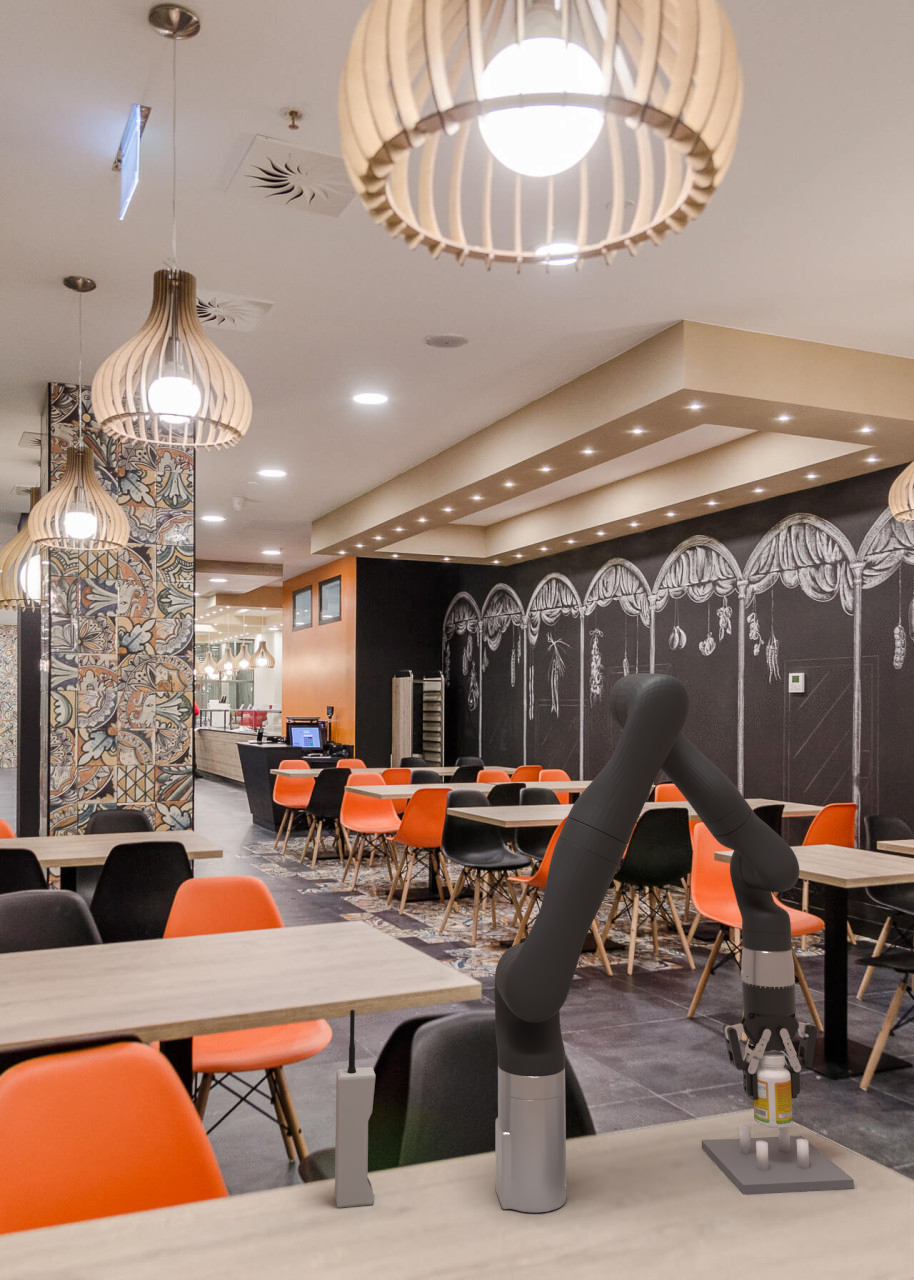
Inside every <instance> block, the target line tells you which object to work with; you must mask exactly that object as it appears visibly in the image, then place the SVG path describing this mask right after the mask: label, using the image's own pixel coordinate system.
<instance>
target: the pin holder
mask: <svg viewBox="0 0 914 1280" xmlns="http://www.w3.org/2000/svg"><path fill="white" fill-rule="evenodd" d="M790 1127H791V1125H790V1126H789V1127H785V1128H777V1129H778V1136H766V1137H765V1136H764V1137H763V1136H762V1137H752V1136H751V1134H752V1133H751V1132H752V1131H751V1126H749V1125H747V1124H739V1128H738V1129H739V1130H738V1131H739V1138H721V1139H701V1149H702V1150H703V1152H704V1153H705V1152H706V1153H705V1154H706V1155H707V1156H708V1157H709V1159H711V1160H712V1161H713V1162H714V1164H715V1165H716V1166H717V1167H718V1168H719V1170H721V1171H722V1173H723V1174H724V1175H725V1176H726V1177H727V1178H728V1179H729V1180H730V1182H732V1184H733V1185H735V1187H736V1188H737V1190H739V1191H740V1192H741V1194H742V1195H753V1194H754V1195H756V1194H757V1195H759V1194H776V1193H795V1192H796V1193H797V1192H814V1191H815V1192H816V1191H833V1190H834V1191H838V1190H852V1189H853V1190H854V1189H855V1183H854V1182H855V1181H854V1180H855V1179H854V1178H853V1177H852V1176H850V1175H849V1174H848V1173H847V1172H845V1170H843V1169H842V1168H840V1167H839V1166H838V1165H837V1164H836V1163H834V1162H833V1161H832V1160H831V1159H830V1158H829V1157H827V1156H826V1155H825V1154H824V1153H823V1152H821V1151H820V1150H819V1149H818V1148H817V1147H816V1146H815V1145H813V1144H812V1143H811V1142H810V1141H809V1140H807V1139H806V1138H805V1137H803V1136H802V1135H791V1134H790V1133H791V1129H790Z"/></svg>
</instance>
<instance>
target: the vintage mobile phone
mask: <svg viewBox="0 0 914 1280" xmlns="http://www.w3.org/2000/svg"><path fill="white" fill-rule="evenodd" d="M355 1013H356V1012H355V1010H354V1009H351V1010H350V1011H349V1018H350V1019H349V1021H350V1022H349V1046H348V1068H338V1069H337V1070H336V1075H335V1076H336V1077H335V1078H336V1079H335V1080H336V1081H335V1083H336V1085H335V1086H336V1089H335V1090H336V1091H335V1142H334V1143H335V1145H334V1146H335V1151H334V1152H335V1155H334V1156H335V1157H334V1159H335V1160H334V1161H335V1162H334V1197H335V1203H336V1206H337V1208H339V1209H340V1208H350V1207H351V1208H352V1207H362V1206H372V1205H374V1204H375V1193H374V1189H373V1186H372V1183H371V1181H370V1179H369V1177H368V1164H369V1162H368V1158H369V1157H368V1155H369V1153H368V1152H369V1120H370V1118H371V1116H372V1113H373V1106H374V1095H375V1085H376V1077H377V1076H376V1075H377V1074H376V1073H375V1071H374V1070H375V1069H374V1067H373V1066H369V1067H368V1066H367V1067H365V1066H363V1067H356V1046H355V1021H356V1020H355V1019H356V1017H355Z"/></svg>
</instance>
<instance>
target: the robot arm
mask: <svg viewBox="0 0 914 1280" xmlns="http://www.w3.org/2000/svg"><path fill="white" fill-rule="evenodd" d="M689 697H690V696H689V693H688V690H687V689H686V686H685V685H684V683H683V682H682V680H680V679H679V678H677V677H676V676H672V675H670V674H663V673H650V672H649V673H648V672H641V673H640V672H639V673H638V672H636V673H631V674H627V675H624V676H622V677H621V678H619V679H618V680H616V682H615V683H614V684H613V685H612V688H611V689H610V693H609V695H608V709H609V712H610V715H611V716H612V719H613V721H614V722H615V724H616V725H617V726H618V727H619V728H620V729H621V730H622V733H621V735H620V738H619V740H618V743H617V745H616V747H615V750H614V751H613V753H612V755H611V757H610V759H609V760H608V762H607V763H606V764H605V766H604V767H603V768H602V770H601V771H600V772H599V773H598V774H597V775H596V776H595V777H594V778H593V780H592V781H591V782H590V783H589V784H588V786H586V788H585V789H584V790H583V791H582V793H581V794H580V795H579V796H578V797H577V799H576V800H575V802H574V803H573V805H572V807H571V809H570V810H569V813H568V815H567V818H566V819H565V821H564V824H563V826H562V828H561V831H560V833H559V835H558V837H557V840H556V843H555V845H554V848H553V851H552V855H551V859H550V863H549V867H548V871H547V876H546V882H545V887H544V892H543V897H542V902H541V905H540V908H539V911H538V914H537V916H536V918H535V920H534V923H533V925H532V927H531V929H530V931H529V933H528V935H527V936H526V939H525V941H524V942H520V943H516V944H514V945H512V946H510V947H509V948H507V950H505V951H504V952H503V953H502V955H501V956H500V958H499V960H498V962H497V964H496V968H495V973H494V1018H495V1019H494V1020H495V1021H494V1022H495V1023H494V1024H495V1025H494V1026H495V1027H494V1028H495V1029H494V1030H495V1032H494V1033H495V1041H496V1042H495V1043H496V1049H497V1089H498V1090H497V1109H498V1110H497V1114H498V1115H497V1117H496V1118H495V1125H494V1126H495V1128H494V1130H495V1132H494V1133H495V1134H494V1135H495V1139H494V1140H495V1143H494V1144H495V1147H494V1149H495V1192H496V1195H497V1198H498V1201H499V1203H500V1205H501V1208H502V1209H503V1210H507V1209H509V1210H510V1209H511V1210H514V1211H518V1212H523V1213H546V1212H550V1211H555V1210H557V1209H559V1208H561V1207H562V1206H564V1205H565V1203H566V1202H567V1183H568V1181H567V1139H566V1137H567V1136H566V1135H567V1132H566V1131H567V1130H566V1128H567V1126H566V1052H565V1051H566V1049H565V1044H564V1040H563V1036H562V1030H561V1027H562V1026H561V1015H560V1014H561V1013H560V1010H561V1009H562V1007H563V1006H564V1005H565V1003H566V1001H567V999H568V996H569V992H570V989H571V986H572V983H573V980H574V976H575V974H576V973H575V972H576V970H577V967H578V963H579V960H580V956H581V954H582V951H583V947H584V944H585V941H586V939H587V936H588V934H589V930H590V928H591V927H592V924H593V922H594V920H595V919H596V917H597V915H598V912H599V910H600V908H601V906H602V904H603V901H604V899H605V897H606V894H607V892H608V890H609V889H610V885H611V883H612V882H613V880H614V877H615V875H616V873H617V870H618V868H619V867H620V864H621V862H622V859H623V857H624V856H625V853H626V850H627V848H628V845H629V843H630V840H631V837H632V836H633V831H634V829H635V827H636V825H637V822H638V820H639V817H640V815H641V813H642V811H643V808H644V806H645V804H646V802H647V799H648V797H649V795H650V792H651V789H652V788H653V785H654V782H655V780H656V778H657V777H658V774H659V772H660V770H661V771H662V772H663V773H664V774H665V775H666V776H667V778H668V779H669V780H670V781H671V782H672V784H674V786H675V787H676V788H677V789H678V790H679V792H680V793H681V794H682V796H683V797H684V798H685V800H686V801H687V802H688V804H689V805H690V806H691V808H692V809H693V810H694V812H695V813H696V814H697V816H698V818H699V819H700V820H701V822H702V823H703V824H704V826H705V827H706V828H707V830H708V831H709V833H710V834H711V836H712V837H713V838H714V839H715V840H716V841H717V842H718V843H719V844H720V845H722V847H725V848H727V849H730V850H733V853H732V854H731V857H730V863H729V874H730V875H729V876H730V880H731V884H732V889H733V892H734V896H735V899H736V903H737V908H738V909H739V910H738V911H739V914H740V916H741V936H742V937H741V938H742V939H741V942H742V951H741V952H742V953H741V971H740V976H741V983H742V984H741V988H742V990H741V993H742V1012H743V1016H742V1018H741V1020H740V1023H735V1024H732V1025H730V1024H728V1023H725V1024H723V1025H722V1032H723V1037H724V1040H725V1041H724V1042H725V1045H726V1051H727V1056H728V1060H729V1063H730V1064H731V1065H732V1066H733V1067H735V1068H736V1069H737V1070H739V1071H742V1083H743V1092H744V1093H745V1094H746V1095H747V1097H748V1098H749V1099H750V1100H752V1101H754V1100H757V1099H758V1092H757V1074H756V1073H755V1072H756V1069H757V1066H758V1065H759V1060H761V1059H762V1056H763V1054H764V1052H768V1051H771V1050H776V1051H780V1052H782V1053H784V1054H785V1065H786V1066H787V1068H786V1067H785V1068H786V1069H787V1070H788V1071H789V1072H790V1075H791V1094H792V1099H793V1100H794V1099H797V1098H798V1095H800V1092H801V1077H800V1076H801V1075H800V1073H801V1071H802V1070H803V1069H805V1068H811V1067H812V1066H813V1063H814V1057H815V1056H814V1055H815V1049H816V1042H817V1035H818V1028H817V1026H815V1025H814V1024H812V1023H810V1022H809V1021H804V1022H801V1021H798V1018H797V1017H796V1011H797V1009H796V1007H797V1006H796V981H795V980H796V979H795V978H796V977H795V962H794V958H793V950H792V949H793V948H792V925H791V924H792V922H791V917H790V915H789V912H788V911H787V910H786V909H784V908H783V907H781V906H779V905H778V904H777V903H776V902H775V900H774V897H773V893H784V892H787V891H790V890H791V889H793V888H794V887H795V886H796V884H797V883H798V880H799V878H800V865H799V861H798V858H797V856H796V854H795V851H794V850H793V849H792V848H791V846H790V845H789V843H787V842H786V840H784V838H782V836H780V834H778V833H777V832H776V831H775V830H774V829H772V827H770V825H768V823H766V822H765V821H763V820H762V819H761V818H760V817H759V816H758V815H757V814H756V812H755V811H754V810H753V809H752V807H751V806H750V804H749V803H748V801H747V800H746V799H745V798H744V796H743V795H742V793H741V792H740V791H739V789H738V787H737V786H736V785H735V784H734V783H733V782H732V781H731V779H730V778H729V777H728V776H727V775H726V774H725V773H724V772H723V771H722V770H720V768H719V767H717V765H715V764H714V762H712V761H711V760H710V759H709V758H707V757H706V756H705V755H704V754H703V753H702V752H701V751H700V750H699V749H698V748H697V747H696V746H695V745H694V744H693V743H692V742H691V741H690V740H689V739H688V737H687V736H686V735H685V734H684V732H683V731H682V730H683V728H684V726H685V724H686V721H687V720H688V715H689V711H690V698H689ZM743 1032H744V1034H745V1035H746V1037H747V1038H748V1039H747V1042H746V1045H745V1047H744V1052H745V1053H744V1055H742V1054H743V1053H742V1050H741V1046H740V1041H741V1039H742V1034H743ZM797 1032H798V1035H799V1038H800V1039H799V1045H798V1051H796V1050H795V1047H794V1045H793V1042H792V1040H793V1038H794V1037H795V1035H796V1034H797Z"/></svg>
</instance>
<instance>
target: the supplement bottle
mask: <svg viewBox="0 0 914 1280" xmlns="http://www.w3.org/2000/svg"><path fill="white" fill-rule="evenodd" d="M785 1065H786V1062H785V1054H784V1053H782V1052H780V1051H776V1050H771V1051H768V1052H764V1054H763V1056H762V1059H761V1060H759V1063H758V1066H757V1069H756V1072H755V1073H756V1074H757V1092H758V1099H757V1100H753V1117H754V1121H755V1122H756V1123H757V1124H758V1125H761V1126H762V1127H766V1128H770V1129H771V1128H773V1129H778V1128H785V1127H789V1126H790V1127H791V1126H792V1124H793V1100H792V1094H791V1075H790V1072H789V1071H788V1070H787V1069H786V1067H785Z"/></svg>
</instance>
